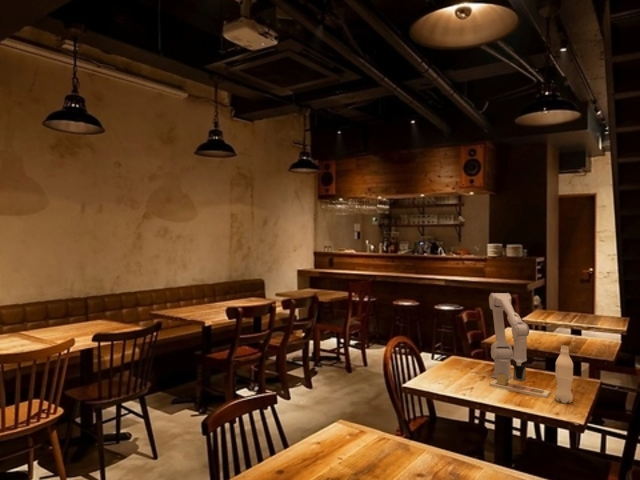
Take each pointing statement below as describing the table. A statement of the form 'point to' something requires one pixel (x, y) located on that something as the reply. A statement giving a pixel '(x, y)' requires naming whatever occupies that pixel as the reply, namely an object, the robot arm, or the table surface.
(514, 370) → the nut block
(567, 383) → the water bottle
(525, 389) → the beige rectangular frame
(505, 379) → the brass block
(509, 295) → the robot arm
